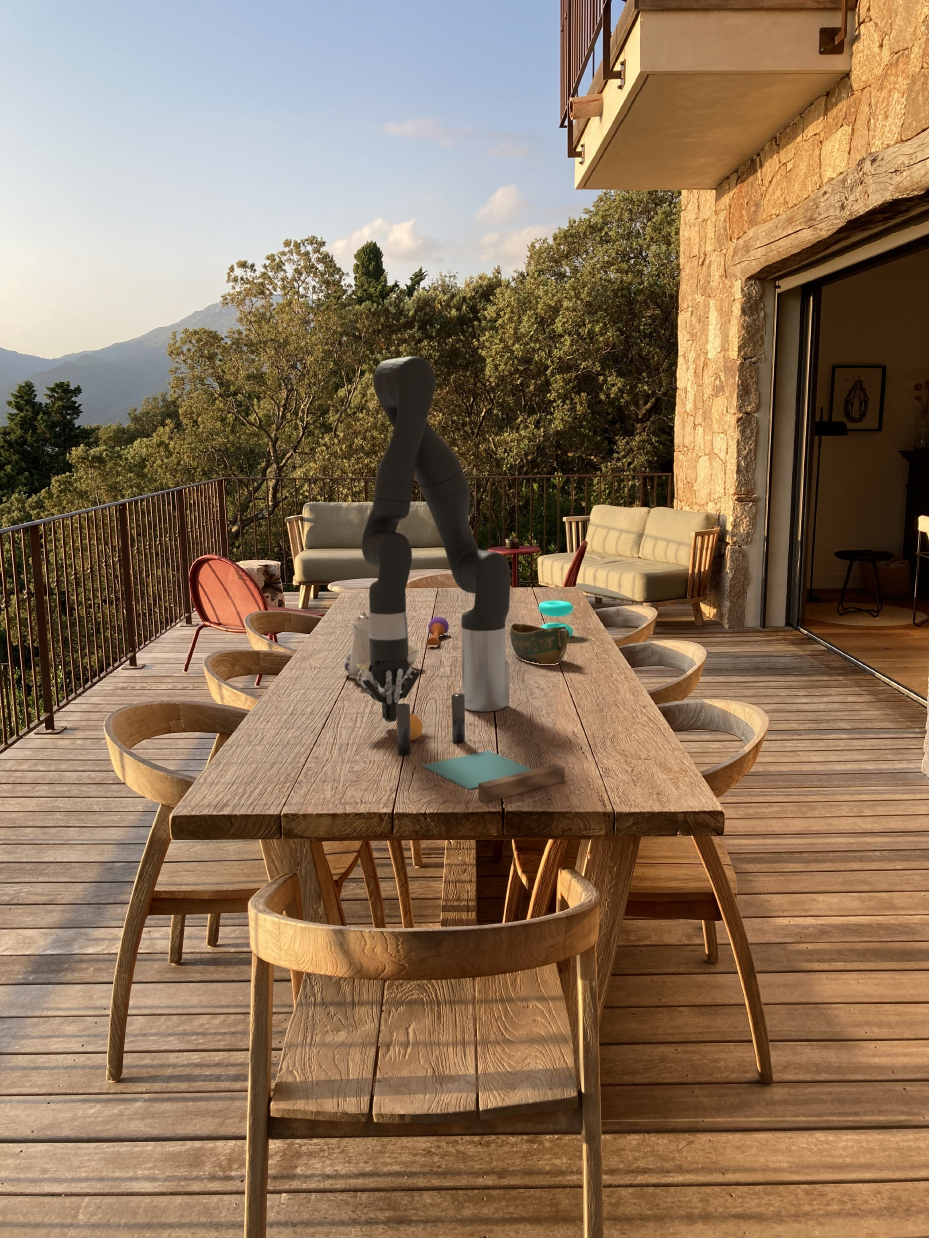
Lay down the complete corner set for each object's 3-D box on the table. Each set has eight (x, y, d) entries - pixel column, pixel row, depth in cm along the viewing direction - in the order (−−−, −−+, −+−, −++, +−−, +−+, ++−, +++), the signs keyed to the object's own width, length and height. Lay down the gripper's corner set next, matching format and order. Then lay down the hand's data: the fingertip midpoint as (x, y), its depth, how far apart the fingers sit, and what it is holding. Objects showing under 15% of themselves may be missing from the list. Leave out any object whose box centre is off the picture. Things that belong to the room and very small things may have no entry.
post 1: (406, 750, 171) (405, 702, 170) (413, 753, 169) (412, 705, 168) (395, 752, 170) (393, 704, 168) (401, 756, 168) (400, 707, 166)
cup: (521, 670, 232) (521, 630, 230) (507, 654, 251) (508, 617, 250) (572, 669, 233) (573, 629, 232) (555, 653, 253) (555, 616, 251)
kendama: (420, 634, 259) (427, 616, 278) (424, 655, 260) (431, 635, 279) (441, 631, 258) (447, 612, 277) (445, 651, 259) (451, 632, 279)
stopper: (556, 777, 156) (556, 763, 156) (564, 781, 155) (564, 766, 154) (478, 798, 147) (478, 783, 147) (485, 802, 146) (485, 787, 145)
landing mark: (488, 751, 170) (488, 750, 170) (536, 772, 159) (536, 771, 159) (422, 766, 162) (422, 765, 162) (469, 789, 151) (469, 788, 151)
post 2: (460, 738, 178) (459, 692, 176) (467, 741, 176) (467, 695, 174) (449, 741, 176) (449, 694, 175) (456, 744, 174) (456, 697, 173)
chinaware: (391, 699, 213) (397, 627, 210) (322, 688, 216) (326, 618, 213) (422, 671, 240) (428, 607, 237) (360, 661, 243) (365, 599, 240)
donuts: (579, 603, 270) (549, 606, 265) (579, 638, 271) (549, 641, 267) (561, 599, 278) (532, 601, 274) (561, 632, 280) (532, 635, 276)
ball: (428, 736, 175) (417, 742, 180) (425, 710, 177) (413, 716, 181) (404, 738, 173) (393, 743, 177) (401, 711, 174) (390, 717, 178)
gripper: (367, 641, 175) (370, 731, 178) (427, 633, 182) (429, 719, 185) (348, 635, 181) (351, 722, 184) (407, 627, 188) (409, 711, 191)
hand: (390, 720), depth 185 cm, fingers closed
